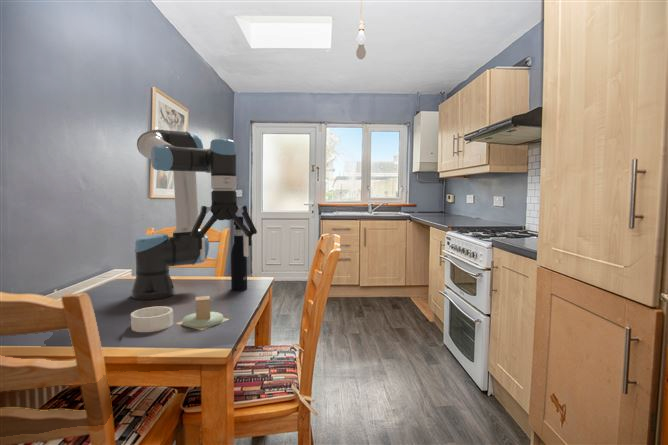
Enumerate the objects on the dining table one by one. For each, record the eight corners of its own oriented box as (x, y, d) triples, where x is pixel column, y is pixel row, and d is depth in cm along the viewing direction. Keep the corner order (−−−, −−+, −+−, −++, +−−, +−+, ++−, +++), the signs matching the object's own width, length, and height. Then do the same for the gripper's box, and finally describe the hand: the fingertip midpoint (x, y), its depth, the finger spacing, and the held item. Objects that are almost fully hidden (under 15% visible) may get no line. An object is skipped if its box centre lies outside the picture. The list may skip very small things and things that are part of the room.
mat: (175, 326, 116) (175, 323, 116) (204, 316, 126) (204, 313, 126) (201, 333, 111) (201, 330, 111) (229, 322, 120) (229, 319, 120)
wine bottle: (232, 287, 164) (231, 216, 162) (248, 287, 165) (247, 216, 163) (230, 291, 158) (229, 217, 156) (246, 290, 159) (245, 217, 156)
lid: (182, 329, 111) (181, 305, 110) (183, 317, 121) (182, 294, 121) (224, 325, 115) (224, 301, 114) (221, 313, 126) (221, 291, 125)
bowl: (123, 330, 112) (122, 313, 112) (157, 320, 122) (156, 304, 121) (147, 338, 107) (147, 320, 107) (180, 326, 116) (180, 309, 116)
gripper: (183, 189, 111) (185, 263, 113) (266, 190, 124) (267, 256, 126) (179, 189, 117) (180, 259, 119) (258, 190, 130) (258, 253, 132)
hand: (225, 258), depth 122 cm, fingers open, 13 cm apart
